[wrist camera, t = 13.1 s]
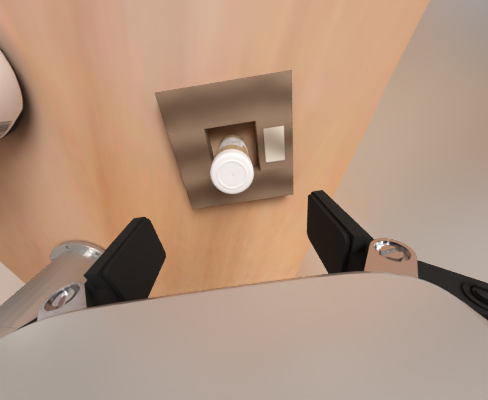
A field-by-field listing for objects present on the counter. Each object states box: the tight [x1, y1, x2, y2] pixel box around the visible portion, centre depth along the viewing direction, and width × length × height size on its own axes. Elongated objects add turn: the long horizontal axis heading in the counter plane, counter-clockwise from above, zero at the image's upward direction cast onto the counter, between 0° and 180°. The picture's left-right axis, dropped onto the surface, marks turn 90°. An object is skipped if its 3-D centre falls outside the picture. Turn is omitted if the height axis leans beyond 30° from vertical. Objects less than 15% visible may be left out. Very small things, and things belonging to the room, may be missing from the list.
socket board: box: [155, 70, 293, 209], centre depth 29 cm, size 18×18×3 cm
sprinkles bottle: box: [210, 134, 254, 194], centre depth 24 cm, size 5×5×13 cm
